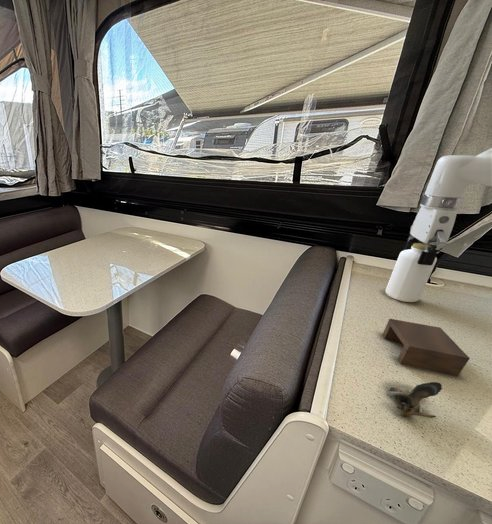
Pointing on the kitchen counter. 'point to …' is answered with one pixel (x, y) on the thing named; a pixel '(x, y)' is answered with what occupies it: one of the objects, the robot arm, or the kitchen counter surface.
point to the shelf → (426, 347)
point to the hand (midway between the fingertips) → (416, 258)
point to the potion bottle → (409, 275)
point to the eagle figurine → (415, 398)
